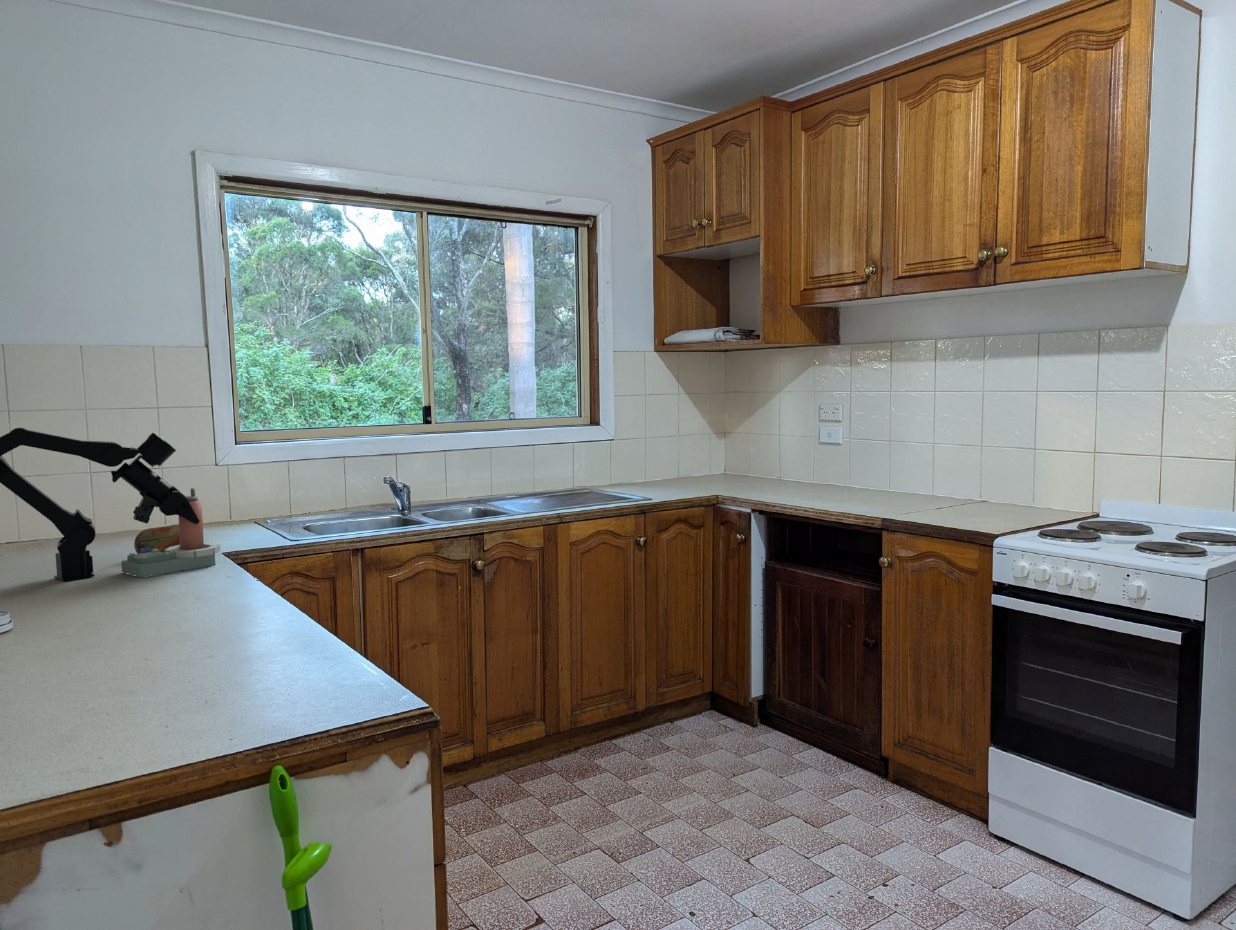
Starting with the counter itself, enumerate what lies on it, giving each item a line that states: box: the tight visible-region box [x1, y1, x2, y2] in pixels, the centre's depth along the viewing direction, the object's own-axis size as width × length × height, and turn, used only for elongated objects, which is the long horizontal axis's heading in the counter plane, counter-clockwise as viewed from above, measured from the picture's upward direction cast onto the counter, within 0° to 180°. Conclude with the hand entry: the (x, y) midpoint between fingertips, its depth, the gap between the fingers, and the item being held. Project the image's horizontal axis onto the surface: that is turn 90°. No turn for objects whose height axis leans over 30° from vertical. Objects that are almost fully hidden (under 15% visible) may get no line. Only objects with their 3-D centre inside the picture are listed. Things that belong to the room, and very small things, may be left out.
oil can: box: [178, 487, 205, 550], centre depth 216 cm, size 5×5×15 cm
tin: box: [133, 523, 180, 554], centre depth 227 cm, size 15×3×8 cm, turn 143°
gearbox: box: [120, 542, 221, 578], centre depth 213 cm, size 21×12×5 cm, turn 143°
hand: (196, 521), depth 216 cm, fingers closed on oil can, 5 cm apart
